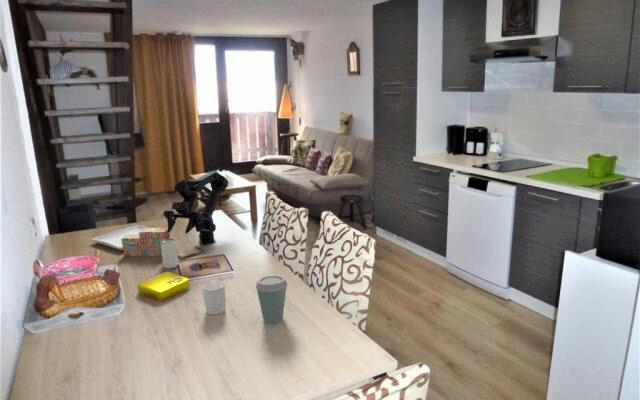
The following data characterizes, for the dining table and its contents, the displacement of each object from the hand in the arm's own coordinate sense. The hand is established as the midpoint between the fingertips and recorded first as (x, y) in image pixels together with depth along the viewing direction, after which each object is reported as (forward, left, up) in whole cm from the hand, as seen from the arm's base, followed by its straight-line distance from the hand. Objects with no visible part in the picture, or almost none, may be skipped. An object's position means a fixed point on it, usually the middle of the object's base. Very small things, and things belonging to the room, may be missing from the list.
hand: (177, 232), depth 209 cm
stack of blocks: (+7, -20, -14) cm, 25 cm away
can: (+6, +4, -14) cm, 15 cm away
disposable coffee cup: (+2, +76, -14) cm, 77 cm away
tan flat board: (-7, -4, -13) cm, 16 cm away
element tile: (+19, +26, -14) cm, 35 cm away
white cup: (+13, +56, -14) cm, 59 cm away
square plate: (+6, -46, -14) cm, 49 cm away
